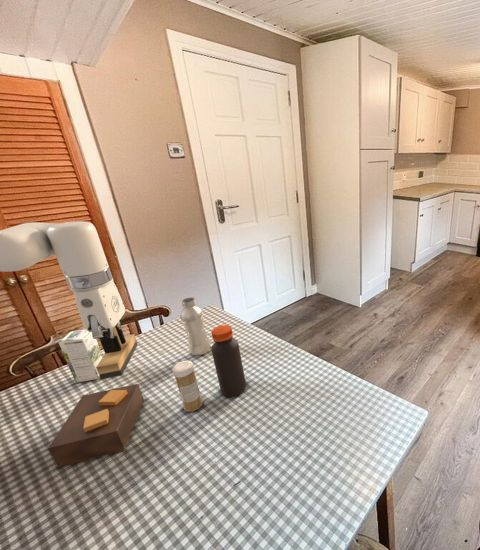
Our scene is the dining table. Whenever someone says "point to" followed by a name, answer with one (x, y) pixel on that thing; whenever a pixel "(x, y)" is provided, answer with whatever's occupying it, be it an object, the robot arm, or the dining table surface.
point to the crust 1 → (96, 420)
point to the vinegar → (228, 361)
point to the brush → (117, 358)
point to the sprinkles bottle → (187, 385)
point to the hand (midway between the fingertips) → (115, 347)
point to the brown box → (102, 440)
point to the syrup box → (81, 355)
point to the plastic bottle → (194, 327)
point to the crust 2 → (113, 397)
